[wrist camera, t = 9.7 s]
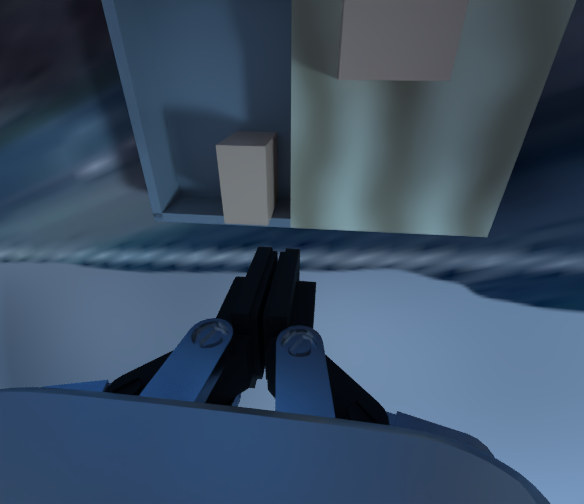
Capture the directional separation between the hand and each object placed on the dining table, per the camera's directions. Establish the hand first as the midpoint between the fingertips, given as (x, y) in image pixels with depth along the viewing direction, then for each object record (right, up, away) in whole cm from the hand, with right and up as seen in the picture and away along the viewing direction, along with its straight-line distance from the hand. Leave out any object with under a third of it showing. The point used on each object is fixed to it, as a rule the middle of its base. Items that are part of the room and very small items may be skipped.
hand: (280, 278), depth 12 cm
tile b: (+6, +15, +6) cm, 17 cm away
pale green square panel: (+9, +13, +12) cm, 20 cm away
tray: (-5, +14, +14) cm, 20 cm away
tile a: (-1, +7, +12) cm, 14 cm away
